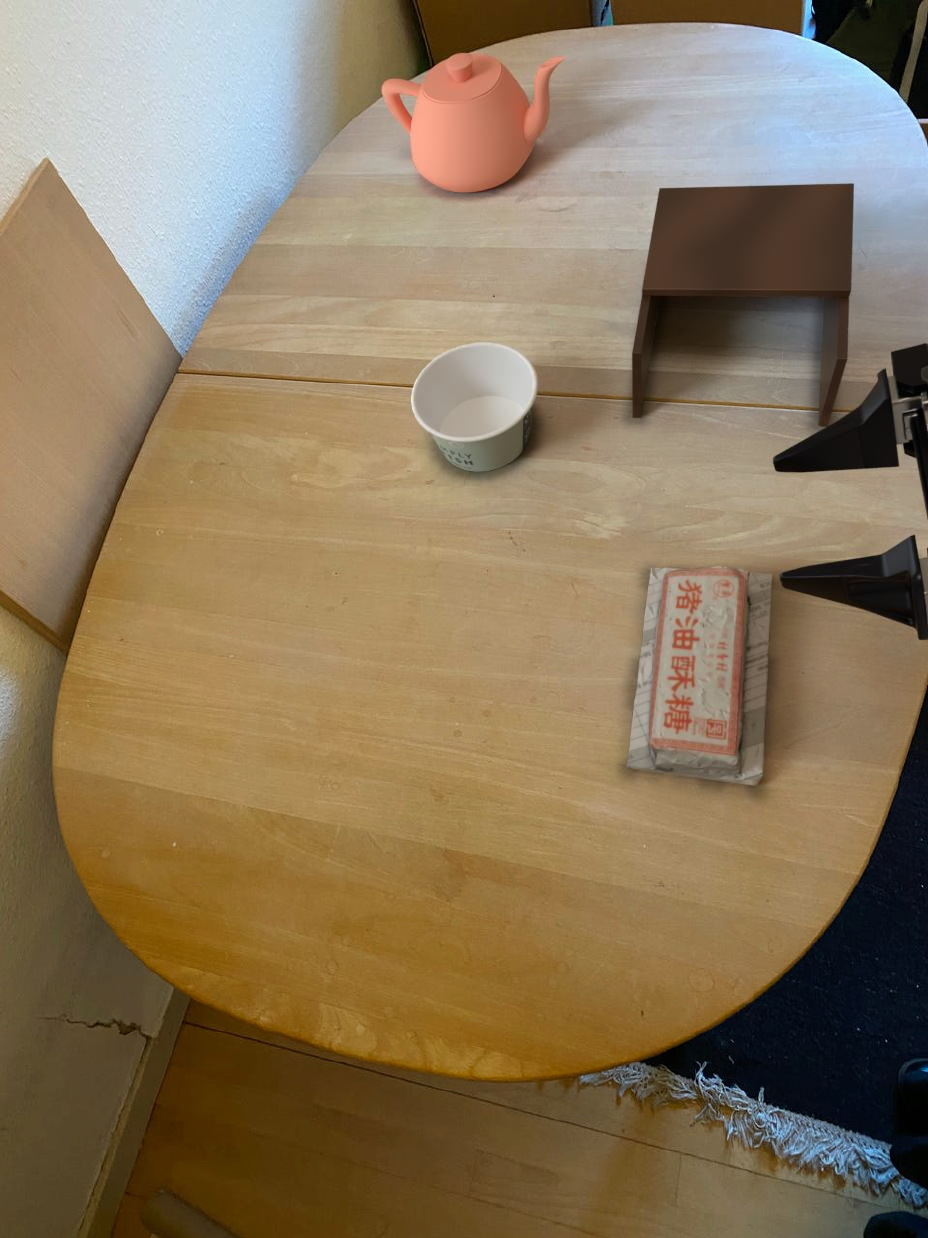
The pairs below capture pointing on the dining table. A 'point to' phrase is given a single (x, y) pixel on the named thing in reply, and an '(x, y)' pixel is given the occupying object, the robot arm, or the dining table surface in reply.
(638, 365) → the cubby shelf
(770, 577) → the packaged product
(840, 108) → the dining table surface
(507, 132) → the teapot
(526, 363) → the food container
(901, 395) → the robot arm
